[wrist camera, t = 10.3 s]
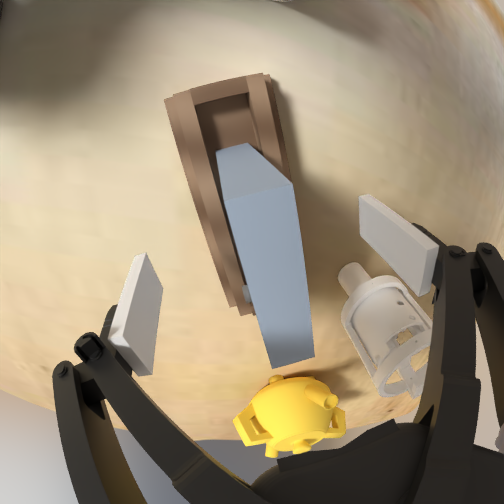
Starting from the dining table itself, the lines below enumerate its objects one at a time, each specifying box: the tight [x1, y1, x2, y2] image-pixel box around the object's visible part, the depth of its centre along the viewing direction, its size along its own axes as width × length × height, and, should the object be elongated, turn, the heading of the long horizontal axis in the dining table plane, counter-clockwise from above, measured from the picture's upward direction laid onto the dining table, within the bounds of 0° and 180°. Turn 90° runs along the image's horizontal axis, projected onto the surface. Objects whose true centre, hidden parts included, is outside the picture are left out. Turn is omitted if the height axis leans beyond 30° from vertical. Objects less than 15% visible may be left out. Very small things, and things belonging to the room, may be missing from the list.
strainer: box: [338, 262, 433, 399], centre depth 23 cm, size 7×7×15 cm
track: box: [164, 73, 291, 316], centre depth 22 cm, size 20×8×3 cm, turn 12°
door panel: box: [216, 143, 315, 369], centre depth 17 cm, size 10×3×12 cm, turn 12°
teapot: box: [233, 375, 346, 457], centre depth 34 cm, size 20×18×11 cm
